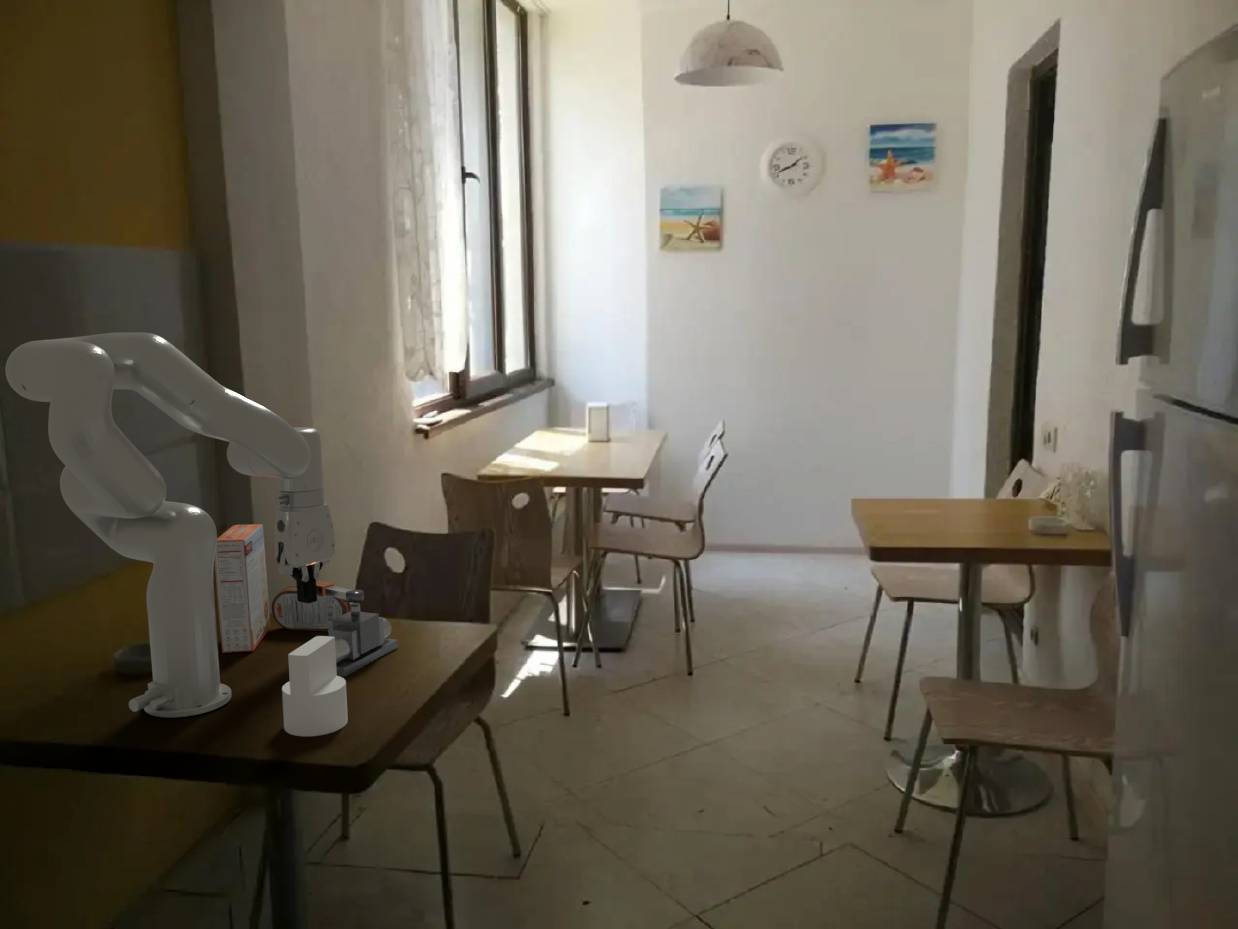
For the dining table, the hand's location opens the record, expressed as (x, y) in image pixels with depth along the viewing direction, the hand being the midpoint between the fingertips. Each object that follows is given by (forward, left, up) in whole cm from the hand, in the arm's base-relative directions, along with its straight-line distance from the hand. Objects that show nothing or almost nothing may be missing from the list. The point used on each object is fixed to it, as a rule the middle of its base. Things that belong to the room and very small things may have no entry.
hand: (307, 601), depth 178 cm
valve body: (+1, -9, -10) cm, 14 cm away
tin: (+13, +10, -10) cm, 19 cm away
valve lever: (+2, -5, +1) cm, 5 cm away
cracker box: (+3, +17, -10) cm, 20 cm away
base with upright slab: (-25, -20, -10) cm, 34 cm away
